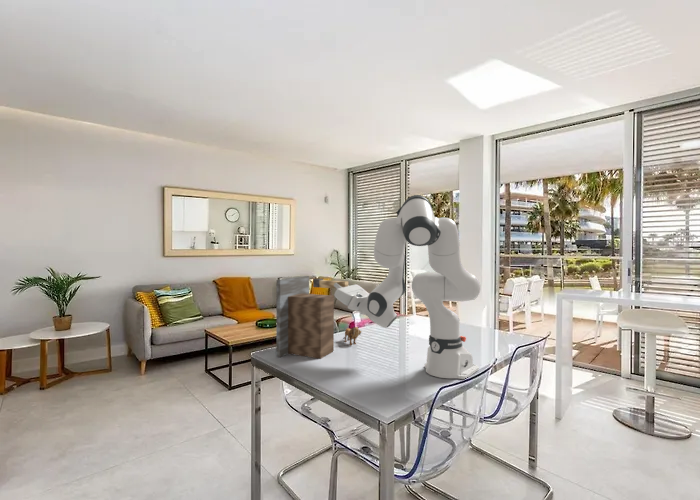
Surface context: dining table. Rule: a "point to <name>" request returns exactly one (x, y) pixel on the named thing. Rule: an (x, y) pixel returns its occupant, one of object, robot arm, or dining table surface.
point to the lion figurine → (352, 334)
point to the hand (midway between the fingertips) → (337, 283)
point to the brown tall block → (303, 319)
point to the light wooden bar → (328, 283)
